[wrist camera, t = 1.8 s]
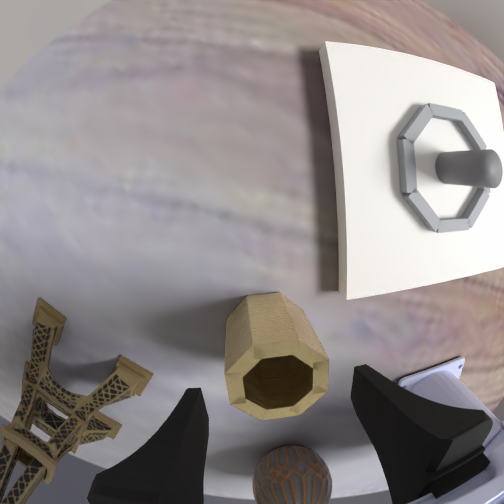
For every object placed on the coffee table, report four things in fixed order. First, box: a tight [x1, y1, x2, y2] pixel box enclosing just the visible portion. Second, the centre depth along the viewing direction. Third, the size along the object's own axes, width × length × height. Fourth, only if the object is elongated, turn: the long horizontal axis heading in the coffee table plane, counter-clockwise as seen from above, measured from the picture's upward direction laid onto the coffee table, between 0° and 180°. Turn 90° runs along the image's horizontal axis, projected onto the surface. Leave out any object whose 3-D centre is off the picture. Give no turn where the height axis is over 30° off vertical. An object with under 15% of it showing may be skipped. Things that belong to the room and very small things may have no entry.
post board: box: [319, 41, 504, 300], centre depth 14 cm, size 16×16×6 cm
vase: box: [253, 445, 332, 504], centre depth 18 cm, size 7×7×9 cm
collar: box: [224, 292, 329, 420], centre depth 16 cm, size 5×5×6 cm
